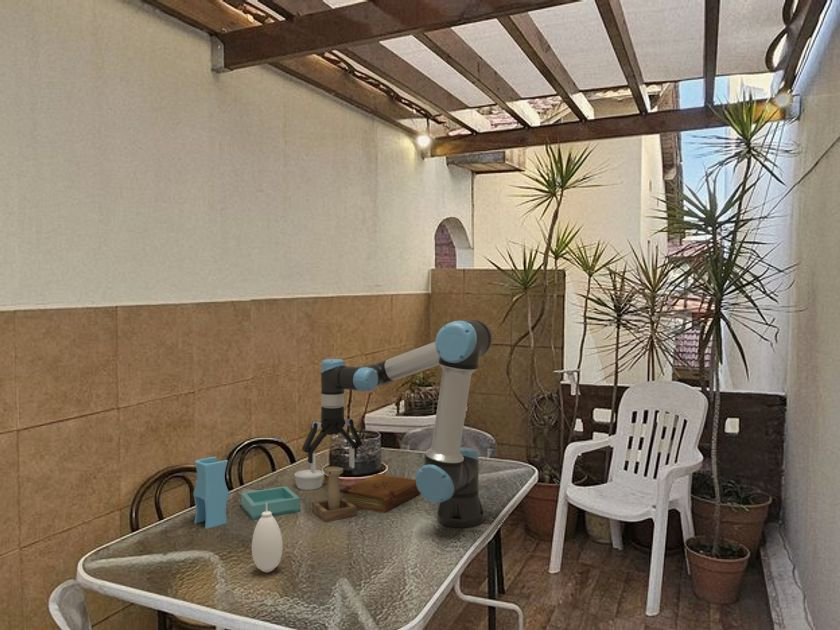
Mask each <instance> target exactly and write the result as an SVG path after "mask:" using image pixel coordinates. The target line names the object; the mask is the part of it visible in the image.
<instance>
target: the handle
mask: <svg viewBox="0 0 840 630" xmlns="http://www.w3.org/2000/svg"><path fill="white" fill-rule="evenodd" d="M323 472H324V475H327V477H328V490H327V500H328V506H329V509H330V510H334V509H340V508H339V507H340V498H341V492H340V490H341V489H340V475H342V474H343V473H344V467H341V466H340V467H339V466H326V467H324V468H323Z"/></svg>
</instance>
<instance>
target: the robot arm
mask: <svg viewBox="0 0 840 630" xmlns="http://www.w3.org/2000/svg"><path fill="white" fill-rule="evenodd" d="M492 345H493V334H492V331H491V329H490V327H489V326H488V325H487V324H486V323H484V322H482V321H481V320H477V319H469V320H467V319H466V320H454V321H451V322H448V323H446V324H445V325H443V326H442V327H441V328H440V329H439V331H438V332H437V335H436V337H435V341H433V342H431V343H428V344H425V345H422V346H420V347H418V348H417V347H416V348H415V349H412V350H410V351H407V352H404V353H401V354H398V355H396V356H393V357H391V358H389V359H385V360H383V361H380V362H378V363H373V364H368V365H362V366H346V365H345V360H343V359H340V358H327V359H324V360H322V361H321V369H320V383H321V385H320V387H321V391H320V392H321V393H320V396H321V398H320V402H321V403H320V404H321V407H320V413H321V414H320V416H321V417H320V422H315V421H312V422H311V426H310V427H311V428H310V431H309V433H308V435H307V437H306V439H305V442H304V444H303V446H302V448H301V450H302V451H303V452H305V453H307V462H308V463H309V464H310V470H311V472H312V473H313V474H315V473H316V470H317V469H316V465H317V464H316V461H317V460H316V452H315V451H316V449H317V448H318V447H319V446H320V444H321V443H322V441H323V440H324V438H325V437H327V436H328V435H329V436H332V435H338V434H340V435H341V436H342V437H343V438H344V439H345V441H346V442H348V444H349V445H350V447H348V448H349V449H348V450H349V451H348V456H349V458H348V460H349V461H348V463H349V464H348V465H349V468H350V469H355V458H357V456H358V449H359V447H360V446H363V442H362V439H361V438H360V435H359V434H358V432H357V429H356V428H355V425H354V424H355V423H354V420H353V419H351V418H347V419H345V407H344V405H345V390H347V391H348V390H351V391H360V392H372V391H373V390H375V388H376V387H379V386H386V385H388V384H390V383H392V382H394V381H397V380H400V379H403V378H405V377H408V376H412V375H415V374H417V373H420V372H422V371H426V370H429V369H432V368H434V367H436V366H440V368H441V370H442V374H441V380H440V387H439V392H438V393H439V394H438V399H437V406H436V407H437V409H436V413H435V414H436V415H435V419H434V427H433V434H432V441H431V447H429V448H428V449H427V450H426V451H425V455H424V461H423V465H422V466H421V467H420V468H419V469H418V471H417V472H416V475H415V480H416V486H417V489H418V491H420V495H421V496H422V498H423V499H425V500H427V501H428V502H430V503H437V504H439V505H438V509H437V512H436V520H437V522H438V523H439V524H441V525H443V526H446V527H452V528H463V529H464V528H471V527H472V528H473V527H476V526H479V525H482V524H483V523H484V521H485V511H484V509H483V504H482V502H481V499H480V494H479V493H480V492H479V483H480V482H479V481H480V480H479V461H480V459H479V453H478V451H477V450H476V449H475V448H471V447H464V446H461V445H462V441H463V440H462V439H463V432H464V427H465V418H466V414H467V405H468V399H469V392H470V388H471V387H470V386H471V380H472V375H473V373H475V372H476V371H477V370H478V369H479V368H478V367H479V361H480V357H482V356H484V355H486V354H487V353H488V352H489V351H490V349H491V348H492ZM345 425H346V426H347V427H348V429H349V431H350V433H351V436H352V437H353V439H354V440H353V439H352V438H351V436H350V435H349V434H348V433H347V432H346V430H344V427H345ZM320 428H321V430H320V431H319V433H318V435H317V436H316V434H317V431H318V429H320ZM315 436H316V438H315Z"/></svg>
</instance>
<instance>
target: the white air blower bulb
mask: <svg viewBox="0 0 840 630" xmlns="http://www.w3.org/2000/svg"><path fill="white" fill-rule="evenodd" d="M251 539H252V540H251V554H252V555H251V556H252V559H253V562H254V564H255V566H256V568H257V569H259V570H260V571H261V572H263V573H270V572H272V571H274V570H275V569H276V568H277V567H278V565H279V563H280V561H281V559H282V556H283V547H284V546H283V545H284V544H283V537H282V532H281V529H280V526H279V525H278V522H277V521H276V518H275V516H272V513H271V512H270V511H268V509H267V502H266V512H263V513H262V517H261V518H260V519H258V521H257V523H256V525H255V528H254V530H253V534H252V538H251Z"/></svg>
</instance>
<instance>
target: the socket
mask: <svg viewBox="0 0 840 630" xmlns="http://www.w3.org/2000/svg"><path fill="white" fill-rule="evenodd" d="M311 508H312V509H311V510H312V511H311V512H312V513H314V514H315V515H316V516H317V517H318V518H319V519H320V520H322V521H323V522H324V523H327V522H332V521H337V520H338V521H339V520H343V519H349V518H353V517H355V518H356V517H357V516H358V513H357V511H358V510H357V509H358V508H357V507H356V506H354V505H353V504H352V503H350V502H349V501H347V500H346V499H345V498H343V496H342V497H340V507H339V509H334V510H330V509H329V506H328V499H325V500H324V499H323V500H320V501H319V500H318V501H313V502H312V504H311Z"/></svg>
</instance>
